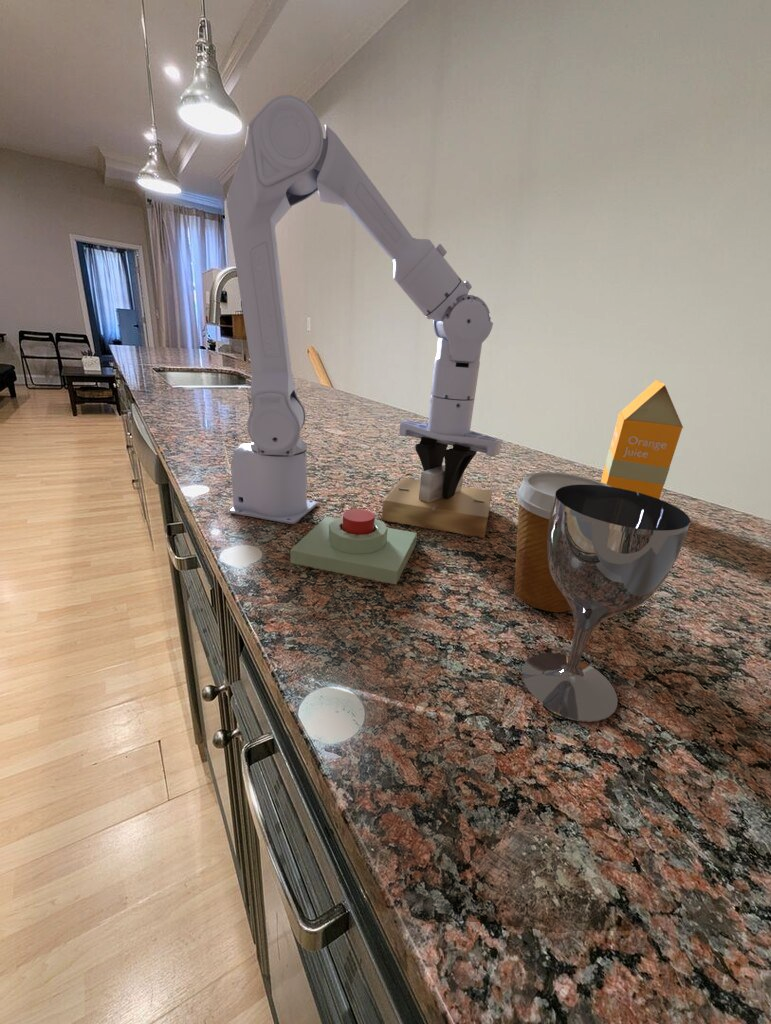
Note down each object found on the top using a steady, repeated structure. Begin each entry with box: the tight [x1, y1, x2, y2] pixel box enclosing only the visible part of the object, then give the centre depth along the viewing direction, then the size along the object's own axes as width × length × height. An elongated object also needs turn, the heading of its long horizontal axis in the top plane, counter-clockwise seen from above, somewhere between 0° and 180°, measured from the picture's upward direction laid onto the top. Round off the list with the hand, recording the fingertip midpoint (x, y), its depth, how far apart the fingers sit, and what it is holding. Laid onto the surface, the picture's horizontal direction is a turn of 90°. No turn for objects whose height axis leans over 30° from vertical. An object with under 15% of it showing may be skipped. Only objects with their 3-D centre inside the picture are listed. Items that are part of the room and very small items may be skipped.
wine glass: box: [521, 485, 691, 723], centre depth 32 cm, size 8×8×15 cm
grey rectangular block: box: [419, 464, 465, 503], centre depth 63 cm, size 8×2×4 cm, turn 138°
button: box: [342, 508, 376, 535], centre depth 50 cm, size 4×4×2 cm
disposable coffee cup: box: [513, 471, 611, 613], centre depth 44 cm, size 10×10×12 cm
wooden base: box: [381, 477, 493, 538], centre depth 64 cm, size 14×12×3 cm
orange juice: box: [600, 379, 684, 499], centre depth 69 cm, size 8×9×20 cm
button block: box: [289, 516, 418, 585], centre depth 51 cm, size 12×10×4 cm
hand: (440, 494), depth 64 cm, fingers closed on grey rectangular block, 2 cm apart
